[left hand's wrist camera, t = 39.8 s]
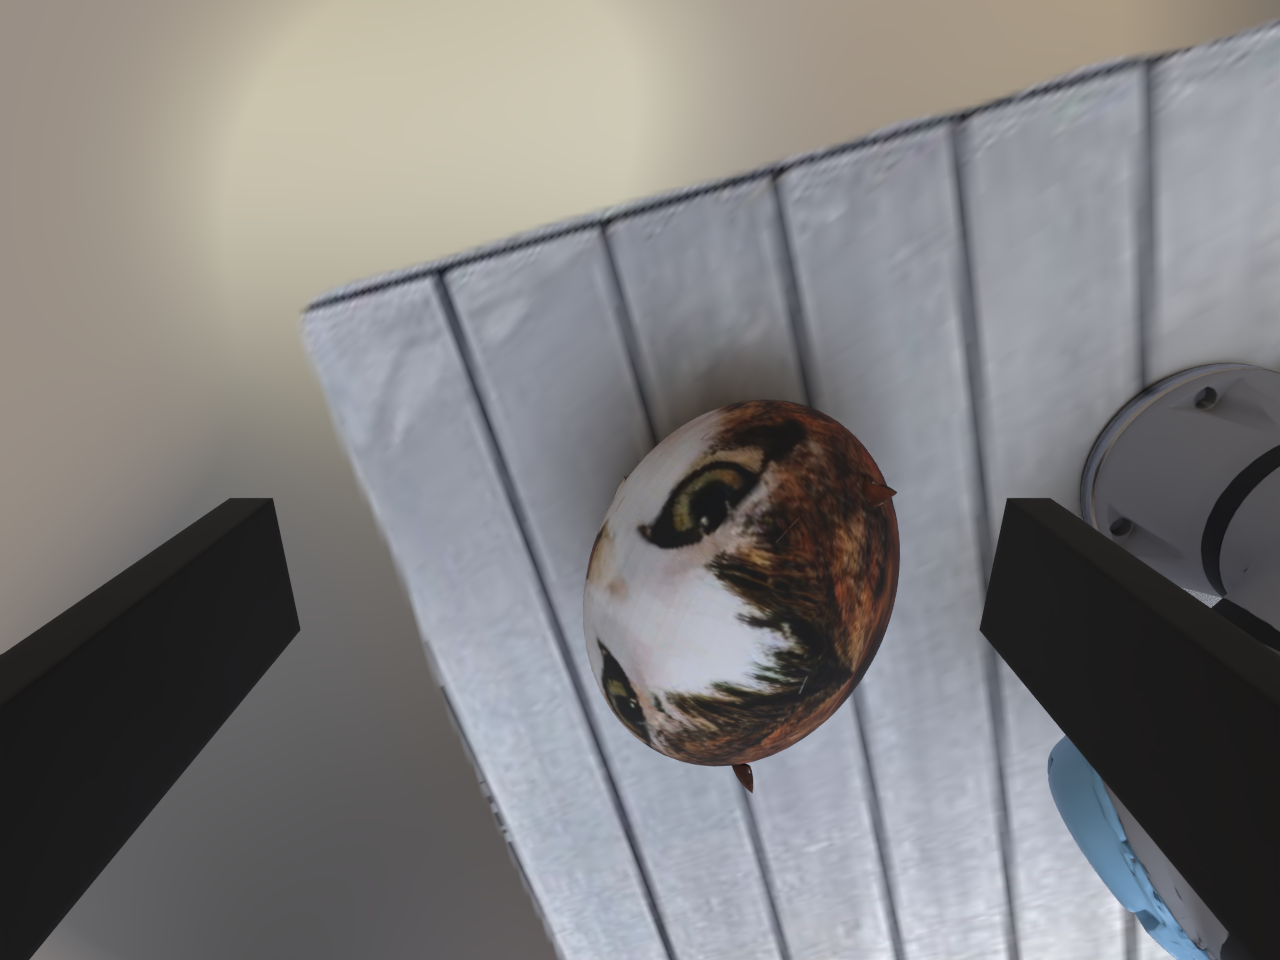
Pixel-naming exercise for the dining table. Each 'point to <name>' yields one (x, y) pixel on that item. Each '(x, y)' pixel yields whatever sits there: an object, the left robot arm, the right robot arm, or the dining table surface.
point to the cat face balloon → (741, 583)
